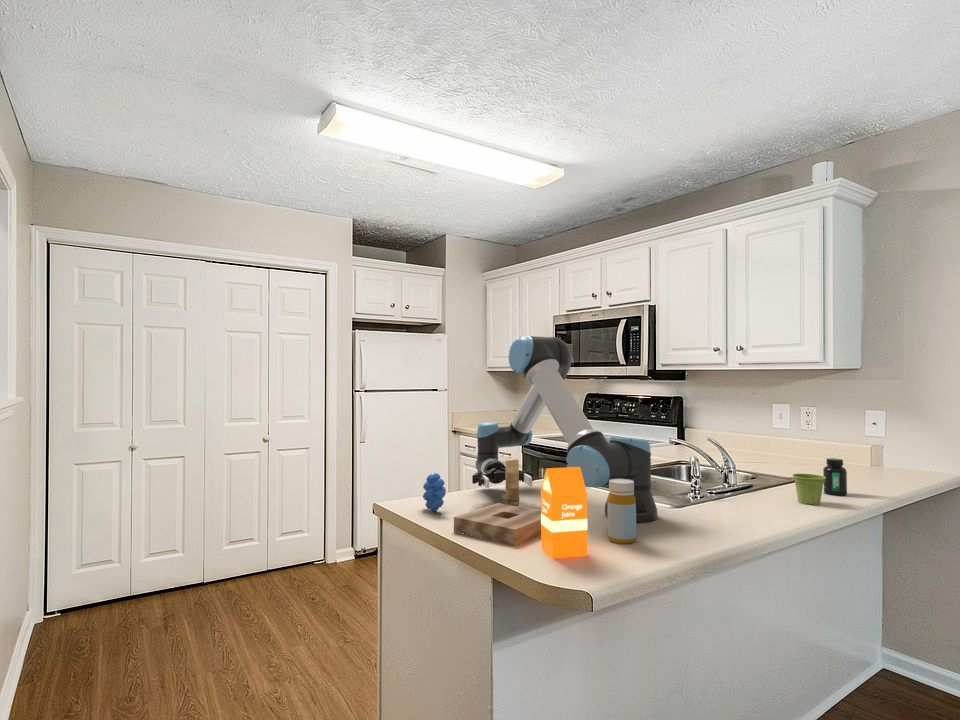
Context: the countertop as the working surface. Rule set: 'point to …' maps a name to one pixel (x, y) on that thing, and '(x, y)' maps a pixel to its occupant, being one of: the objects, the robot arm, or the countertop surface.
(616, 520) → the bottle
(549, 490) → the orange juice
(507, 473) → the oak leg
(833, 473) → the supplement bottle
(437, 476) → the grapes
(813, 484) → the plant pot
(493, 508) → the walnut board
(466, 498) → the countertop surface
